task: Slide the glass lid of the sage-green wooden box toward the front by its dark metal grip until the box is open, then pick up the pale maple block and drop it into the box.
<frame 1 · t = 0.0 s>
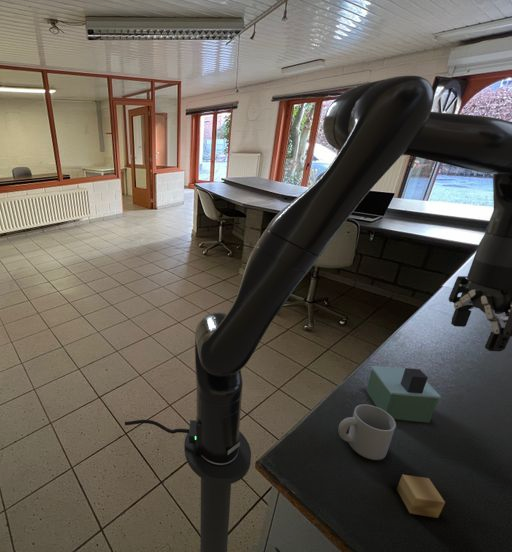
hand: (474, 337, 58), 27 cm above the table, tool pointing down, fingers open, 8 cm apart
display box: (395, 405, 77), on the table
cup: (359, 446, 68), on the table
block: (416, 503, 56), on the table
glass lid: (405, 373, 74), point 10 cm above the table, slide at 0.0 cm
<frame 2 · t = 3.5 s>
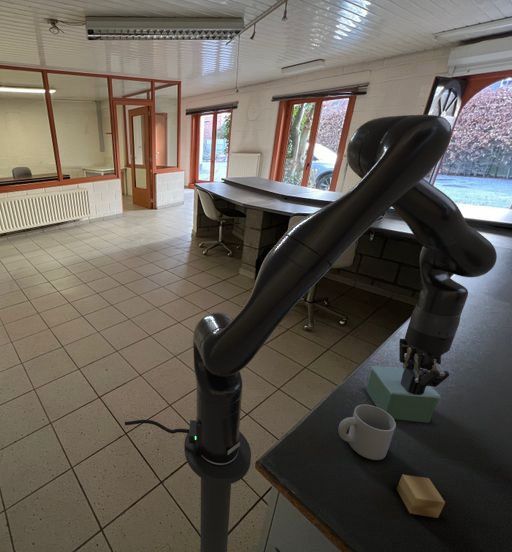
hand: (411, 387, 71), 9 cm above the table, tool pointing down, fingers closed on glass lid, 3 cm apart
glass lid: (405, 373, 74), point 10 cm above the table, slide at 0.0 cm, touching gripper
everything else where it was.
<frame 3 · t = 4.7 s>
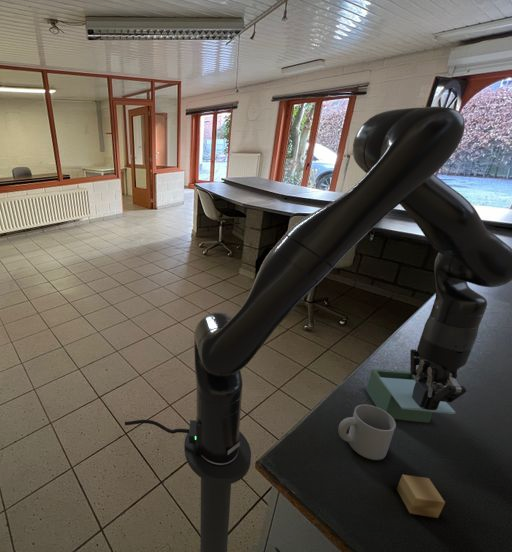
hand: (423, 402, 67), 9 cm above the table, tool pointing down, fingers closed on glass lid, 3 cm apart
glass lid: (417, 386, 69), point 10 cm above the table, slide at 4.6 cm, touching gripper
everything else where it was.
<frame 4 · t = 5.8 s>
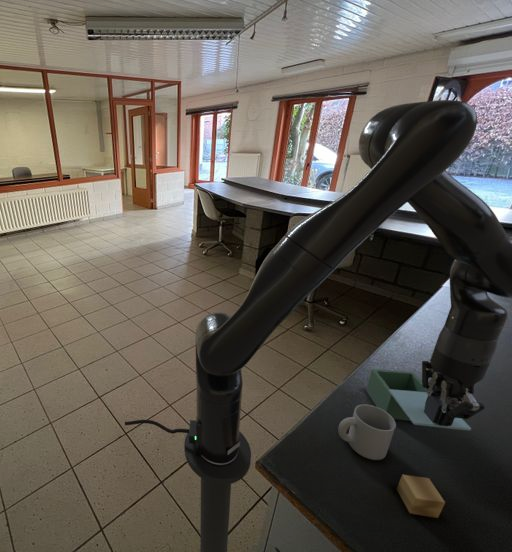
hand: (436, 417, 63), 9 cm above the table, tool pointing down, fingers closed on glass lid, 3 cm apart
glass lid: (429, 400, 66), point 10 cm above the table, slide at 8.8 cm, touching gripper
everything else where it was.
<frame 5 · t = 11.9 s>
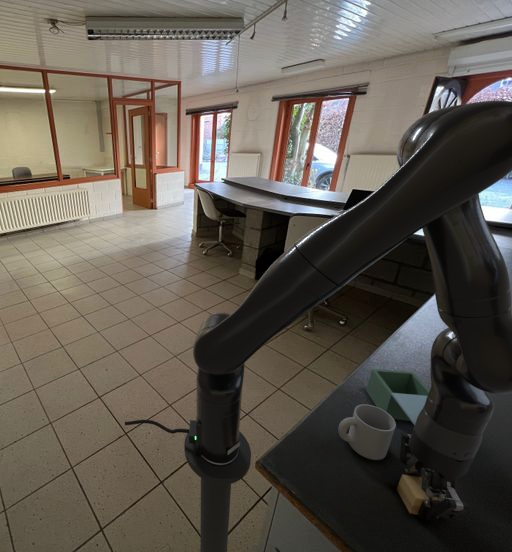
hand: (416, 502, 56), 0 cm above the table, tool pointing down, fingers closed on block, 4 cm apart
block: (416, 503, 56), on the table, touching gripper
glass lid: (433, 404, 64), point 10 cm above the table, slide at 10.0 cm
everything else where it was.
when the fingers open (8 cm above the table, at t = 18.3 s): block drops 7 cm, resting on display box.
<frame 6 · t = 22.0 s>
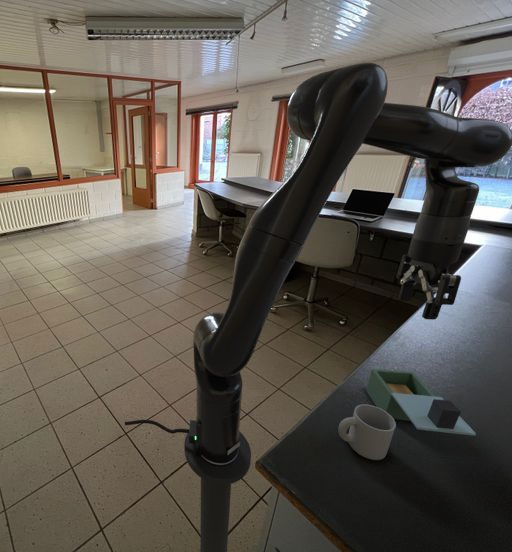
hand: (415, 308, 65), 30 cm above the table, tool pointing down, fingers open, 8 cm apart
block: (396, 403, 77), point 1 cm above the table, touching display box
everything else where it was.
at the end: glass lid slide at 10.0 cm; block inside the target area on the display box (0.0 cm from its centre), point 0.8 cm above the display box's base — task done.
